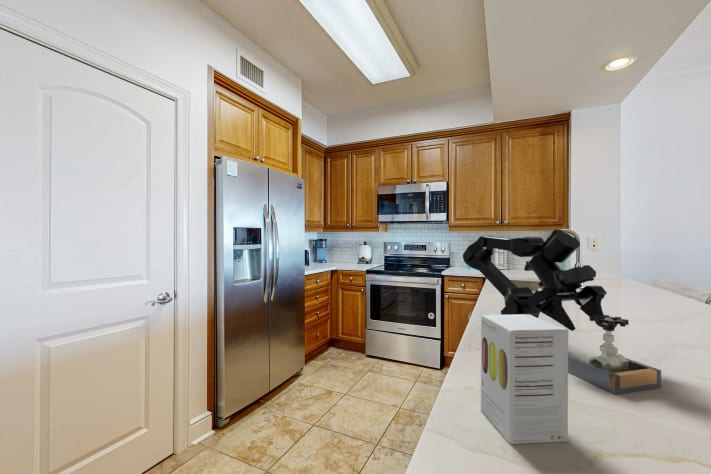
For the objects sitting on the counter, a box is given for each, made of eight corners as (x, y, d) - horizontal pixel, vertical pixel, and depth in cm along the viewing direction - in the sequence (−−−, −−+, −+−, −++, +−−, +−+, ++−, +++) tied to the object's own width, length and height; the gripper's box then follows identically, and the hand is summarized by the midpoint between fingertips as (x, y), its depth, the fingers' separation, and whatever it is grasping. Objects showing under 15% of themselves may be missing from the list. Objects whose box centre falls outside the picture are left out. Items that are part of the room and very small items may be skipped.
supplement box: (479, 410, 55) (478, 313, 55) (529, 407, 55) (528, 312, 56) (510, 446, 45) (510, 329, 45) (570, 442, 46) (570, 328, 46)
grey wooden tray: (564, 371, 71) (564, 355, 71) (605, 366, 74) (605, 351, 74) (615, 394, 60) (615, 376, 60) (661, 387, 63) (661, 370, 63)
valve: (637, 378, 65) (637, 320, 65) (612, 382, 63) (612, 322, 63) (605, 366, 71) (604, 313, 71) (582, 369, 70) (581, 315, 70)
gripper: (538, 254, 74) (581, 312, 64) (599, 253, 79) (649, 307, 68) (513, 282, 82) (548, 338, 71) (570, 280, 86) (611, 332, 76)
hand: (589, 328), depth 71 cm, fingers open, 9 cm apart
